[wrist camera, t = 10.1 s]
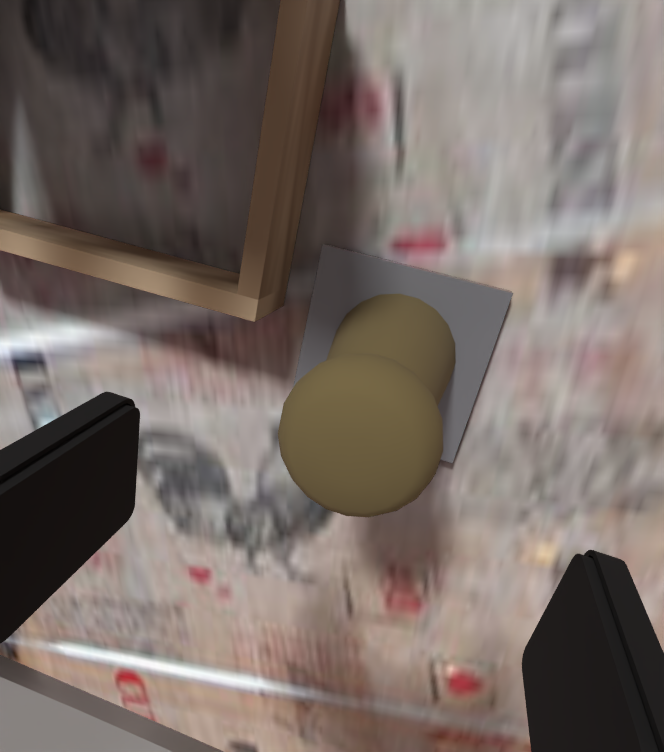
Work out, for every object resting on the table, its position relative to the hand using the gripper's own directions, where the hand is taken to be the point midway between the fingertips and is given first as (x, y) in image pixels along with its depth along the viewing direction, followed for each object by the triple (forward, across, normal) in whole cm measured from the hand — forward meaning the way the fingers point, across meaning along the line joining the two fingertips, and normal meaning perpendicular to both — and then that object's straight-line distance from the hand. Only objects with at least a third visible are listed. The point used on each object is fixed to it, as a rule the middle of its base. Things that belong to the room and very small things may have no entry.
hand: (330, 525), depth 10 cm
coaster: (+15, 0, +1) cm, 15 cm away
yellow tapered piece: (+15, 0, +1) cm, 15 cm away
